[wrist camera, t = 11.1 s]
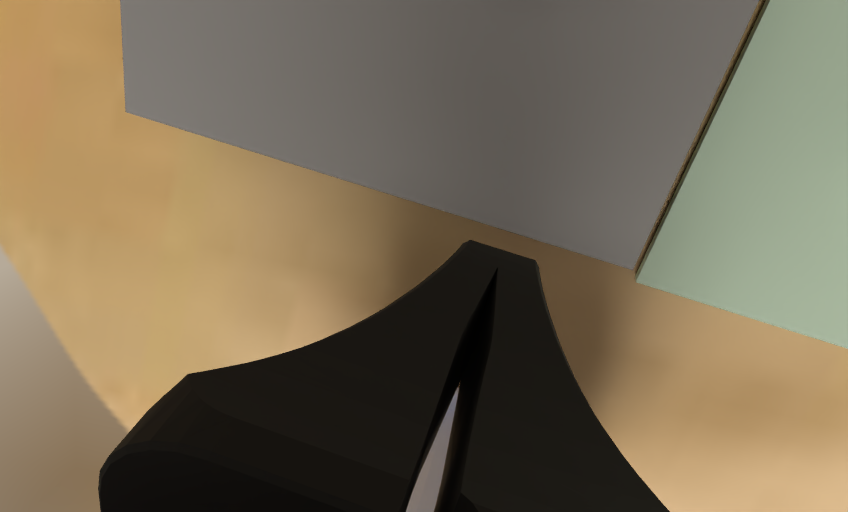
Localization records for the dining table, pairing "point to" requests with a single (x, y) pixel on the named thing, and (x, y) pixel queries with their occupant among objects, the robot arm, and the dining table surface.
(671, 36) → the grey flat slab
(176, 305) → the dining table surface
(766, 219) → the mat
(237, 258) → the dining table surface
